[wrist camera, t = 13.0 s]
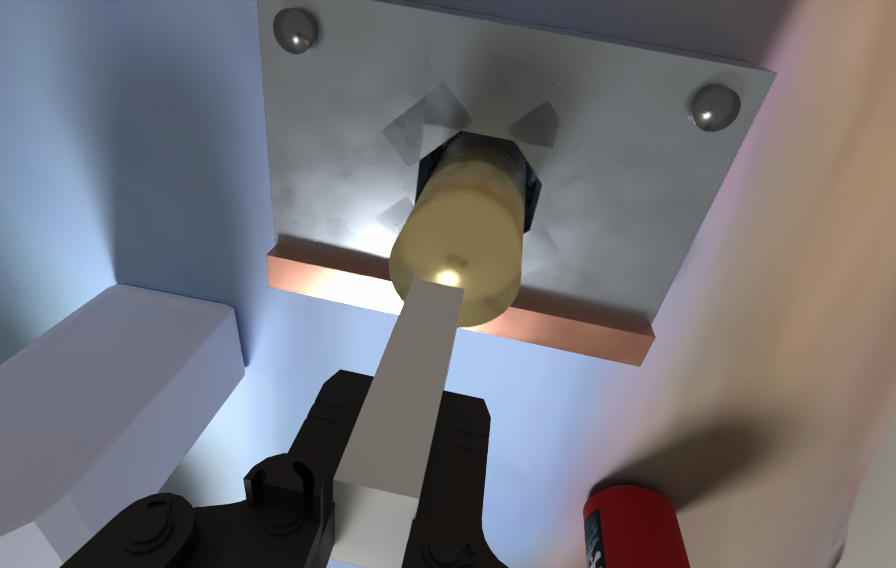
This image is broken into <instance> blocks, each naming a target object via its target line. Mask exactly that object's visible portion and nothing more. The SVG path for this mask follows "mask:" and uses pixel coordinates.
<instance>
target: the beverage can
mask: <svg viewBox="0 0 896 568" xmlns="http://www.w3.org/2000/svg"><path fill="white" fill-rule="evenodd" d="M583 516H584V530H585V543H586V556H587V568H690V565H689V561H688V557H687V553H686V550H685V546H684V542H683V539H682V535H681V531H680V528H679V524H678V520H677V517H676V513H675V510H674V507H673V506H672V504H671V503H670V502H669V501H668V500H667V499H666V498H665V497H663V496H662V495H660V494H658V493H656V492H654V491H651V490H648V489H645V488H642V487H638V486H633V485H618V486H613V487H609V488H607V489H604V490H602V491H600V492H598V493H596V494H594V495H593V496H592V497H590V498H589V499H588V500H587V502H586V503H585V505H584V509H583Z"/></svg>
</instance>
